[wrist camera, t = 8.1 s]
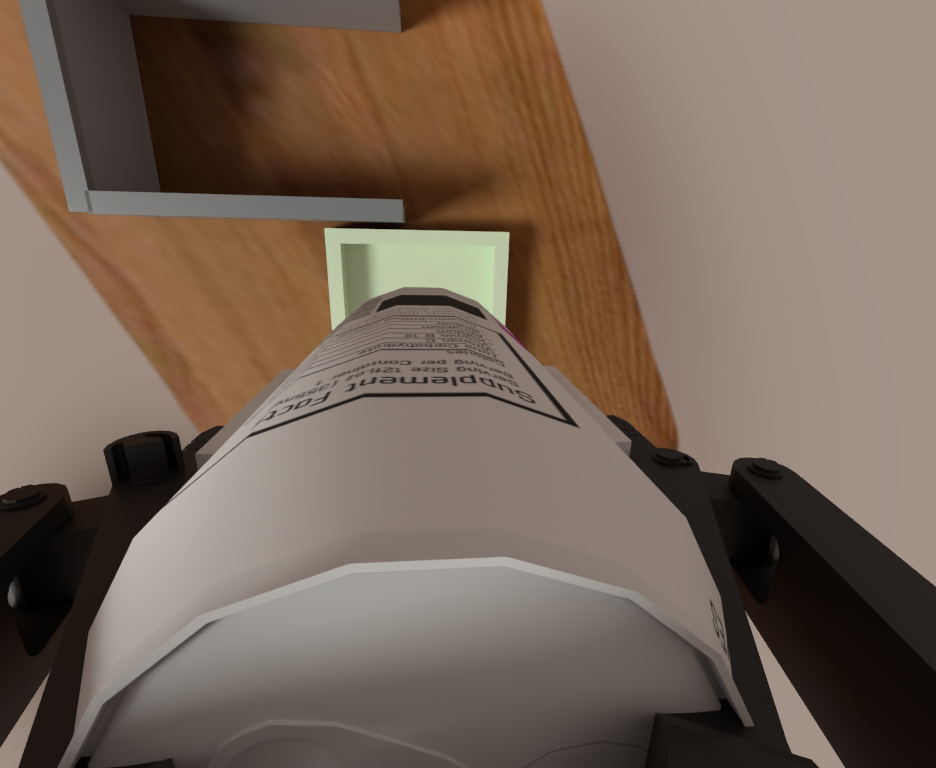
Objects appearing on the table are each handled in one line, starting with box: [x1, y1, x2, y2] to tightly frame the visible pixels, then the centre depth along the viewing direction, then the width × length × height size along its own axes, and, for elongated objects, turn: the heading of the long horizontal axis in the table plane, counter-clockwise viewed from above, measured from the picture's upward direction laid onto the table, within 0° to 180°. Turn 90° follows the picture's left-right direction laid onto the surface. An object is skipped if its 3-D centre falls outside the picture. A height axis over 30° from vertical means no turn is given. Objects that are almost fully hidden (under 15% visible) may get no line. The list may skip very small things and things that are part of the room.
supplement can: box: [58, 287, 754, 768], centre depth 12 cm, size 8×8×15 cm
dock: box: [19, 0, 406, 223], centre depth 27 cm, size 13×18×8 cm
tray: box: [324, 228, 509, 331], centre depth 35 cm, size 13×13×2 cm
